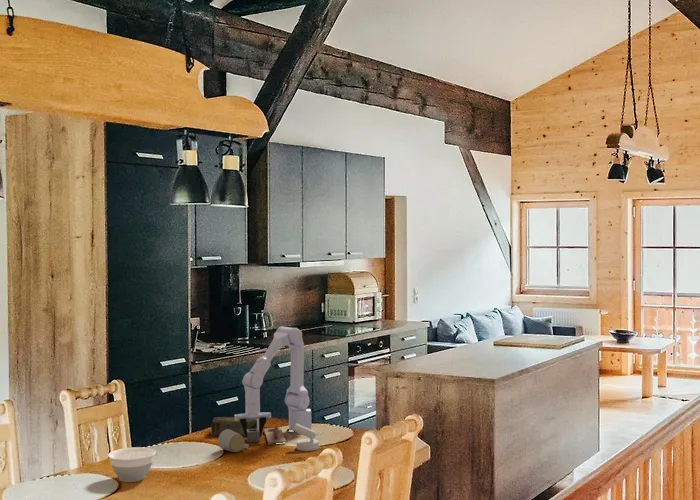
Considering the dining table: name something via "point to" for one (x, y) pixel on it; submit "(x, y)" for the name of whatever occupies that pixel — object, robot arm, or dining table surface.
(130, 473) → the bowl
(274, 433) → the board
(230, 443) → the ceramic mug
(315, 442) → the white round-based angled piece
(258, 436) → the open square sleeve
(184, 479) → the dining table surface
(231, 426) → the beverage carton
